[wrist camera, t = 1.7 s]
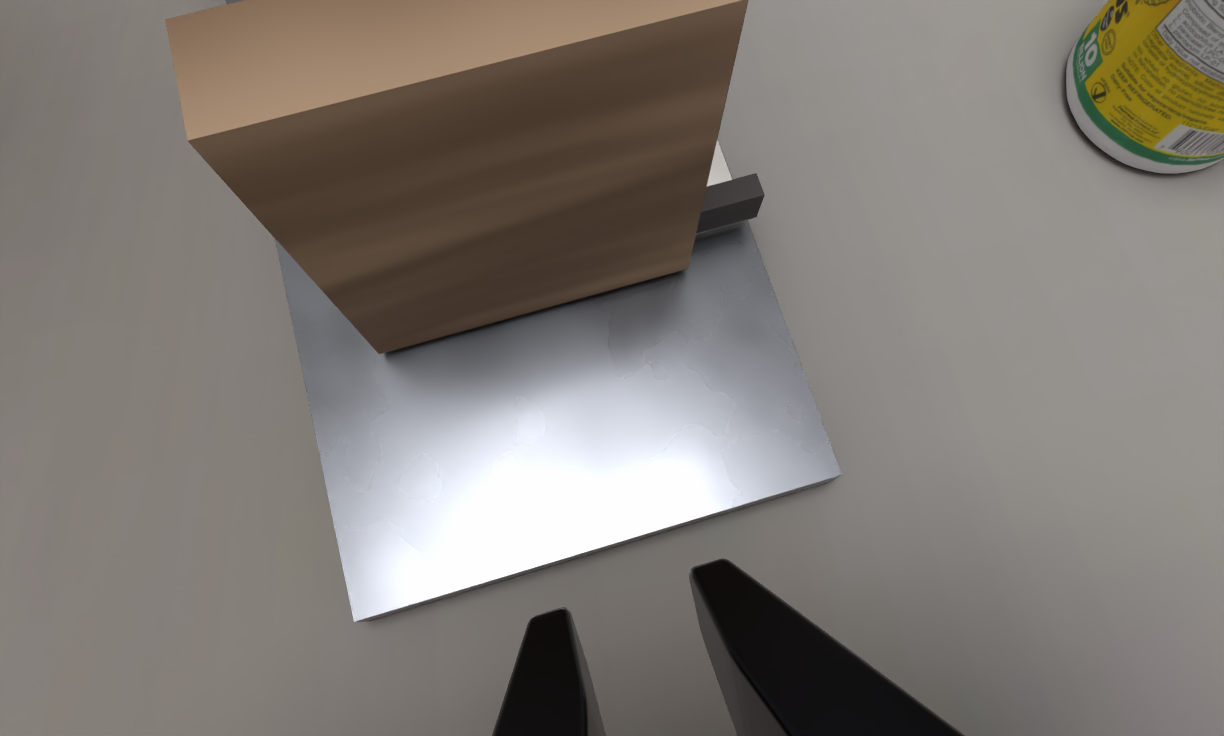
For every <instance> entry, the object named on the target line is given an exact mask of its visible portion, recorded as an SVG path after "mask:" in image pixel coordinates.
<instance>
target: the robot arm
mask: <svg viewBox="0 0 1224 736" xmlns="http://www.w3.org/2000/svg"><path fill="white" fill-rule="evenodd" d="M689 578H690V583H691V588H692V593H693V597H694V602H695V607H696V611H697V616H698V620H699V625H700V629H701V633H702V636H703V639H704V642H705V645H706V648H707V651H708V654H709V657H710V659H711V662H712V665H713V668H714V671H715V674H716V676H717V679H718V682H719V685H720V688H721V690H722V693H723V696H724V699H725V702H726V705H727V707H728V710H729V713H730V716H731V719H732V721H733V724H734V727H735V730H736V733H737V736H965V735H963V734H962V733H961V732H959V731H958V730H956V729H955V728H954V727H952V726H951V725H950V724H948V723H947V722H946V721H944V720H943V719H942V718H940V717H939V716H938V715H936V714H935V713H934V712H932V711H931V710H930V709H928V708H927V707H926V706H924V705H923V704H921V703H920V702H919V701H917V700H916V699H915V698H913V697H912V696H911V695H909V694H908V693H907V692H905V691H904V690H903V689H901V688H900V687H899V686H897V685H896V684H895V683H893V682H892V681H891V680H889V679H888V678H887V677H885V676H884V675H882V674H881V673H880V672H878V671H877V670H876V669H874V668H873V667H872V666H870V665H869V664H868V663H866V662H865V661H864V660H862V659H861V658H860V657H858V656H857V655H856V654H854V653H853V652H852V651H850V650H849V649H848V648H846V647H845V646H843V645H842V644H841V643H839V642H838V641H837V640H835V639H834V638H833V637H831V636H830V635H829V634H827V633H826V632H825V631H823V630H822V629H821V628H819V627H818V626H817V625H815V624H814V623H813V622H811V621H810V620H809V619H807V618H806V617H804V616H803V615H802V614H800V613H799V612H798V611H796V610H795V609H794V608H792V607H791V606H790V605H788V604H787V603H786V602H784V601H783V600H782V599H780V598H779V597H778V596H776V595H775V594H774V593H772V592H771V591H769V590H768V589H767V588H765V587H764V586H763V585H761V584H760V583H759V582H757V581H756V580H755V579H753V578H752V577H751V576H749V575H748V574H747V573H745V572H744V571H743V570H741V569H740V568H739V567H737V566H736V565H735V564H733V563H732V562H730V561H729V560H727V559H718V560H715V561H712V562H708V563H705V564H702V565H699V566H695V567H693V568H692V569H691V570H690V573H689ZM492 736H606V735H605V731H604V727H603V723H602V719H601V715H600V711H599V707H598V703H597V699H596V696H595V692H594V688H593V684H592V680H591V676H590V672H589V669H588V665H587V662H586V659H585V656H584V653H583V649H582V646H581V643H580V640H579V637H578V634H577V631H576V627H575V624H574V621H573V618H572V615H571V613H570V611H569V610H568V609H567V608H564V607H562V608H558V609H555V610H552V611H549V612H545V613H542V614H539V615H536V616H534V617H532V618H531V619H530V621H529V623H528V625H527V628H526V631H525V634H524V637H523V641H522V644H521V647H520V650H519V653H518V656H517V659H516V662H515V666H514V669H513V672H512V675H511V678H510V681H509V684H508V688H507V691H506V694H505V697H504V700H503V703H502V706H501V709H500V713H499V716H498V719H497V722H496V725H495V728H494V731H493V735H492Z"/></svg>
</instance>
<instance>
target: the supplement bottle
mask: <svg viewBox="0 0 1224 736" xmlns="http://www.w3.org/2000/svg"><path fill="white" fill-rule="evenodd" d="M1066 89H1067V100H1068V103H1069V106H1070V109H1071V112H1072V114H1073V116H1074V118H1075V120H1076V122H1077V124H1078V126H1079V127H1080V129H1081V130H1082V131H1083V133H1084V134H1085V135H1086V136H1087V137H1088V138H1089V139H1090V140H1091V141H1092V142H1093V143H1094V144H1095V145H1096V146H1098V147H1099V148H1100V149H1101V150H1103V151H1104V152H1106V153H1107V154H1108V155H1110V156H1111V157H1113V158H1115V159H1116V160H1118V161H1120V162H1122V163H1124V164H1126V165H1129V166H1132V167H1134V168H1138V169H1142V170H1146V171H1150V172H1156V173H1184V172H1191V171H1196V170H1200V169H1203V168H1206V167H1208V166H1211V165H1213V164H1215V163H1217V162H1219V161H1221V160H1223V159H1224V0H1109V1H1108V2H1107V3H1106V5H1105V6H1104V7H1103V8H1102V10H1101V11H1100V12H1099V13H1098V15H1097V16H1096V17H1095V18H1094V19H1093V21H1092V22H1091V23H1090V24H1089V25H1088V27H1087V28H1086V30H1085V31H1084V32H1083V33H1082V35H1081V36H1080V37H1079V39H1078V40H1077V42H1076V43H1075V45H1074V47H1073V48H1072V51H1071V53H1070V56H1069V58H1068V62H1067V69H1066Z"/></svg>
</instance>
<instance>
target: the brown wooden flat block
mask: <svg viewBox="0 0 1224 736" xmlns="http://www.w3.org/2000/svg"><path fill="white" fill-rule="evenodd" d="M747 4H748V0H244V1H240V2H236V3H231V4H227V5H223V6H219V7H215V8H211V9H207V10H202V11H198V12H194V13H190V14H186V15H182V16H178V17H173V18H169V19H165V20H166V26H167V31H168V37H169V42H170V48H171V53H172V59H173V64H174V70H175V75H176V81H177V86H178V92H179V97H180V103H181V108H182V114H183V119H184V125H185V130H186V136H187V141H188V142H189V143H190V144H191V145H192V146H193V147H194V148H195V150H196V151H197V152H198V153H199V154H200V155H201V156H202V157H203V159H204V160H205V161H206V162H207V163H208V164H209V165H210V166H211V167H212V169H213V170H214V171H215V172H216V173H217V174H218V175H219V176H220V177H221V179H222V180H223V181H224V182H225V183H226V184H227V185H228V186H229V188H230V189H231V190H232V191H233V192H234V193H235V194H236V195H237V196H238V198H239V199H240V200H241V201H242V202H243V203H244V204H245V205H246V207H247V208H248V209H249V210H250V211H251V212H252V213H253V214H254V215H255V217H256V218H257V219H258V220H259V221H260V222H261V223H262V224H263V225H264V227H265V228H266V229H267V230H268V231H269V232H270V233H271V234H272V236H273V237H274V238H275V239H276V240H277V241H278V242H279V243H280V244H281V246H282V247H283V248H284V249H285V250H286V251H287V252H288V253H289V254H290V256H291V257H292V258H293V259H294V260H295V261H296V262H297V263H298V265H299V266H300V267H301V268H302V269H303V270H304V271H305V272H306V273H307V275H308V276H309V277H310V278H311V279H312V280H313V281H314V282H315V283H316V285H317V286H318V287H319V288H320V289H321V290H322V291H323V292H324V294H325V295H326V296H327V297H328V298H329V299H330V300H331V301H332V302H333V304H334V305H335V306H336V307H337V308H338V309H339V310H340V311H341V312H342V314H343V315H344V316H345V317H346V318H347V319H348V320H349V321H350V323H351V324H352V325H353V326H354V327H355V328H356V329H357V330H358V331H359V333H360V334H361V335H362V336H363V337H364V338H365V339H366V340H367V342H368V343H369V344H370V345H371V346H372V347H373V348H374V349H375V350H376V352H377V353H378V354H382V353H386V352H389V351H393V350H396V349H400V348H404V347H407V346H411V345H415V344H418V343H422V342H425V341H429V340H433V339H436V338H440V337H443V336H447V335H451V334H454V333H458V332H461V331H465V330H469V329H472V328H476V327H479V326H483V325H487V324H490V323H494V322H497V321H501V320H505V319H508V318H512V317H515V316H519V315H523V314H526V313H530V312H534V311H537V310H541V309H544V308H548V307H552V306H555V305H559V304H562V303H566V302H570V301H573V300H577V299H580V298H584V297H588V296H591V295H595V294H598V293H602V292H606V291H609V290H613V289H616V288H620V287H624V286H627V285H631V284H635V283H638V282H642V281H645V280H649V279H653V278H656V277H660V276H663V275H667V274H671V273H674V272H678V271H681V270H685V269H688V268H689V263H690V259H691V254H692V250H693V245H694V241H695V236H696V233H700V232H703V231H707V230H711V229H714V228H718V227H722V226H725V225H729V224H733V223H736V222H740V221H743V220H747V219H751V218H754V217H757V214H758V211H759V208H760V206H761V203H762V200H763V198H764V192H763V190H762V187H761V184H760V182H759V179H758V176H757V174H756V173H755V174H752V175H748V176H744V177H741V178H737V179H733V180H729V181H726V182H722V183H718V184H715V185H711V186H707V183H708V178H709V174H710V169H711V165H712V160H713V156H714V151H715V147H716V142H717V138H718V134H719V129H720V125H721V120H722V116H723V111H724V107H725V102H726V98H727V93H728V89H729V84H730V80H731V76H732V71H733V67H734V62H735V58H736V53H737V49H738V44H739V40H740V35H741V31H742V26H743V22H744V17H745V13H746V9H747Z"/></svg>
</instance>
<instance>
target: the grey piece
mask: <svg viewBox="0 0 1224 736" xmlns="http://www.w3.org/2000/svg"><path fill="white" fill-rule="evenodd" d="M240 1H244V0H226V3H227V4H231V3H236V2H240ZM729 180H733V179H732V177H731V174H730V171H729V169H728V166H727V163H726V160H725V158H724V155H723V152H722V150H721V147H720V144H719V142H718V139H717V142H716V147H715V151H714V156H713V160H712V165H711V169H710V174H709V178H708V183H707V186H711V185H715V184H718V183H722V182H726V181H729ZM275 241H276V245H277V250H278V255H279V260H280V265H281V270H282V275H283V279H284V284H285V289H286V294H287V299H288V304H289V308H290V313H291V318H292V323H293V328H294V333H295V338H296V342H297V347H298V352H299V357H300V362H301V367H302V372H303V376H304V381H305V386H306V391H307V396H308V401H309V406H310V410H311V415H312V420H313V425H314V430H315V435H316V439H317V444H318V449H319V454H320V459H321V464H322V469H323V473H324V478H325V483H326V488H327V493H328V498H329V503H330V507H331V512H332V517H333V522H334V527H335V532H336V537H337V541H338V546H339V551H340V556H341V561H342V566H343V570H344V575H345V580H346V585H347V590H348V595H349V600H350V604H351V609H352V614H353V619H354V622H361V621H371V620H374V619H377V618H381V617H384V616H387V615H391V614H394V613H397V612H400V611H404V610H407V609H410V608H414V607H417V606H420V605H424V604H427V603H430V602H434V601H437V600H440V599H444V598H447V597H450V596H454V595H457V594H460V593H463V592H467V591H470V590H473V589H477V588H480V587H483V586H487V585H490V584H493V583H497V582H500V581H503V580H507V579H510V578H513V577H516V576H520V575H523V574H526V573H530V572H533V571H536V570H540V569H543V568H546V567H550V566H553V565H556V564H560V563H563V562H566V561H570V560H573V559H576V558H579V557H583V556H586V555H589V554H593V553H596V552H599V551H603V550H606V549H609V548H613V547H616V546H619V545H623V544H626V543H629V542H632V541H636V540H639V539H642V538H646V537H649V536H652V535H656V534H659V533H662V532H666V531H669V530H672V529H676V528H679V527H682V526H685V525H689V524H692V523H695V522H699V521H702V520H705V519H709V518H712V517H715V516H719V515H722V514H725V513H729V512H732V511H735V510H739V509H742V508H745V507H748V506H752V505H755V504H758V503H762V502H765V501H768V500H772V499H775V498H778V497H782V496H785V495H788V494H792V493H795V492H798V491H801V490H805V489H808V488H811V487H815V486H818V485H821V484H825V483H828V482H831V481H832V480H834V479H836V478H837V477H839V476H841V475H842V474H841V471H840V468H839V465H838V463H837V460H836V457H835V455H834V452H833V449H832V447H831V444H830V441H829V438H828V436H827V433H826V430H825V428H824V425H823V422H822V420H821V417H820V414H819V412H818V409H817V406H816V403H815V401H814V398H813V395H812V393H811V390H810V387H809V385H808V382H807V379H806V376H805V374H804V371H803V368H802V366H801V363H800V360H799V358H798V355H797V352H796V349H795V347H794V344H793V341H792V339H791V336H790V333H789V331H788V328H787V325H786V322H785V320H784V317H783V314H782V312H781V309H780V306H779V304H778V301H777V298H776V295H775V293H774V290H773V287H772V285H771V282H770V279H769V277H768V274H767V271H766V268H765V266H764V263H763V260H762V258H761V255H760V252H759V250H758V247H757V244H756V241H755V239H754V236H753V233H752V231H751V228H750V225H749V223H748V220H743V221H740V222H736V223H733V224H729V225H725V226H722V227H718V228H714V229H711V230H707V231H703V232H700V233H696V236H695V241H694V245H693V250H692V254H691V259H690V263H689V268H688V269H685V270H681V271H678V272H674V273H671V274H667V275H663V276H660V277H656V278H653V279H649V280H645V281H642V282H638V283H635V284H631V285H627V286H624V287H620V288H616V289H613V290H609V291H606V292H602V293H598V294H595V295H591V296H588V297H584V298H580V299H577V300H573V301H570V302H566V303H562V304H559V305H555V306H552V307H548V308H544V309H541V310H537V311H534V312H530V313H526V314H523V315H519V316H515V317H512V318H508V319H505V320H501V321H497V322H494V323H490V324H487V325H483V326H479V327H476V328H472V329H469V330H465V331H461V332H458V333H454V334H451V335H447V336H443V337H440V338H436V339H433V340H429V341H425V342H422V343H418V344H415V345H411V346H407V347H404V348H400V349H396V350H393V351H389V352H386V353H382V354H378V353H377V352H376V350H375V349H374V348H373V347H372V346H371V345H370V344H369V343H368V342H367V340H366V339H365V338H364V337H363V336H362V335H361V334H360V333H359V331H358V330H357V329H356V328H355V327H354V326H353V325H352V324H351V323H350V321H349V320H348V319H347V318H346V317H345V316H344V315H343V314H342V312H341V311H340V310H339V309H338V308H337V307H336V306H335V305H334V304H333V302H332V301H331V300H330V299H329V298H328V297H327V296H326V295H325V294H324V292H323V291H322V290H321V289H320V288H319V287H318V286H317V285H316V283H315V282H314V281H313V280H312V279H311V278H310V277H309V276H308V275H307V273H306V272H305V271H304V270H303V269H302V268H301V267H300V266H299V265H298V263H297V262H296V261H295V260H294V259H293V258H292V257H291V256H290V254H289V253H288V252H287V251H286V250H285V249H284V248H283V247H282V246H281V244H280V243H279V242H278V241H277V240H276V239H275Z"/></svg>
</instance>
